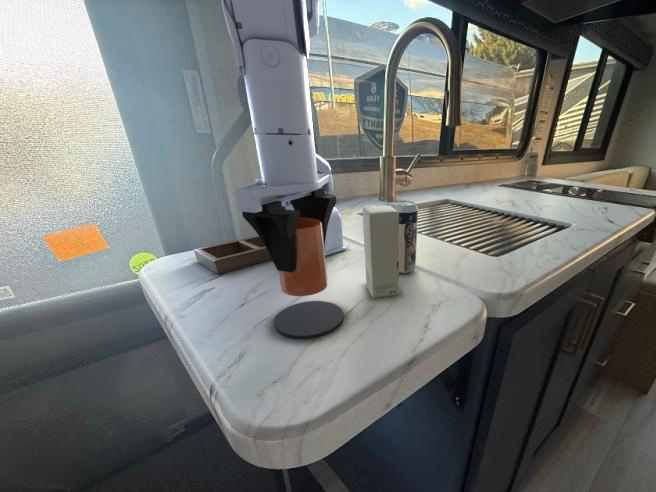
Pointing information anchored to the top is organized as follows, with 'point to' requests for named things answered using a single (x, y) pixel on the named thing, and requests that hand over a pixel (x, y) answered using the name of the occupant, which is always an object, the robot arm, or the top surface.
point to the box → (381, 250)
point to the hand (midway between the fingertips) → (301, 261)
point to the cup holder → (233, 254)
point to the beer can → (407, 234)
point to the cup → (306, 261)
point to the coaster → (308, 319)
